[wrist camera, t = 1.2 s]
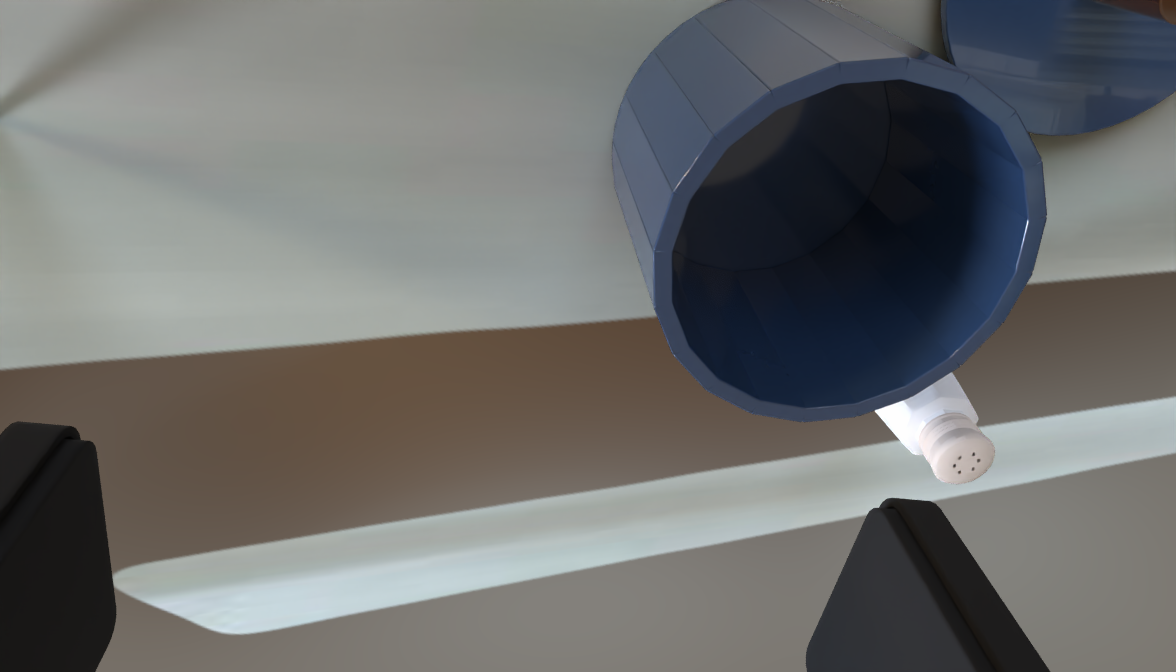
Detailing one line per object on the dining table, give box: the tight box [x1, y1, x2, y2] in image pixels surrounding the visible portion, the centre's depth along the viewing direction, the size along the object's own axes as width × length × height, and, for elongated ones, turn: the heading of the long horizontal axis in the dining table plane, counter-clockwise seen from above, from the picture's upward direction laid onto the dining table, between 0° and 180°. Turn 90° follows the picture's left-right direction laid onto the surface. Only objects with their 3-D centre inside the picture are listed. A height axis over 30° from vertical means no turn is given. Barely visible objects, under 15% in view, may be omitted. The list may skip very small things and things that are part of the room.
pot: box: [612, 0, 1047, 422], centre depth 35 cm, size 14×14×12 cm
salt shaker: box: [875, 372, 995, 484], centre depth 42 cm, size 5×5×11 cm
